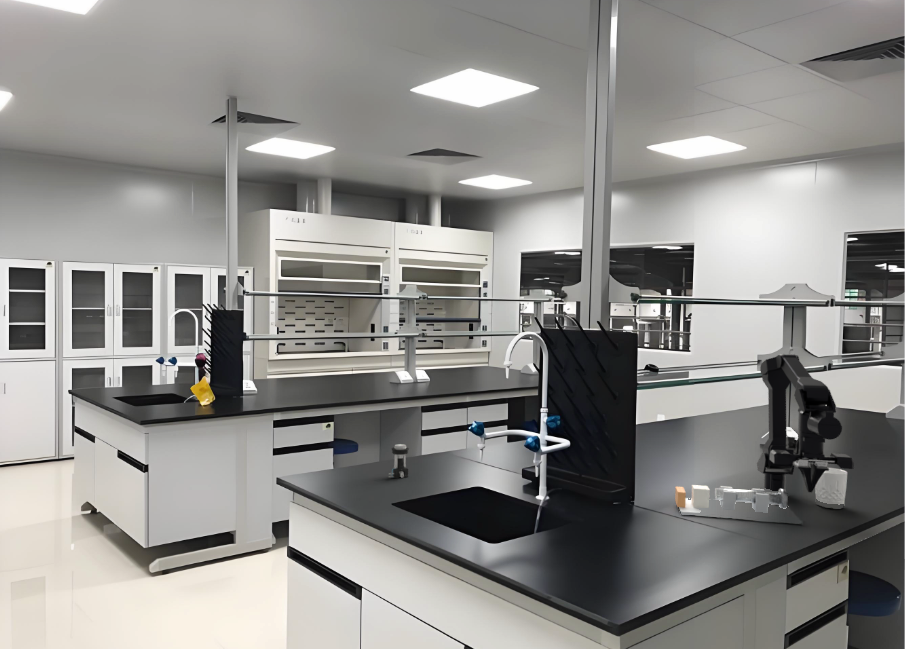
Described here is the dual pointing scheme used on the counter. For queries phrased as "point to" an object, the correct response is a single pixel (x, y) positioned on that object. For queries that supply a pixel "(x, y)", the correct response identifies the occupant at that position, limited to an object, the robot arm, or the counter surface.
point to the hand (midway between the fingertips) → (809, 492)
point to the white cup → (832, 486)
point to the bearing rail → (722, 501)
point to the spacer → (700, 496)
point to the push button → (399, 461)
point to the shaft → (750, 495)
